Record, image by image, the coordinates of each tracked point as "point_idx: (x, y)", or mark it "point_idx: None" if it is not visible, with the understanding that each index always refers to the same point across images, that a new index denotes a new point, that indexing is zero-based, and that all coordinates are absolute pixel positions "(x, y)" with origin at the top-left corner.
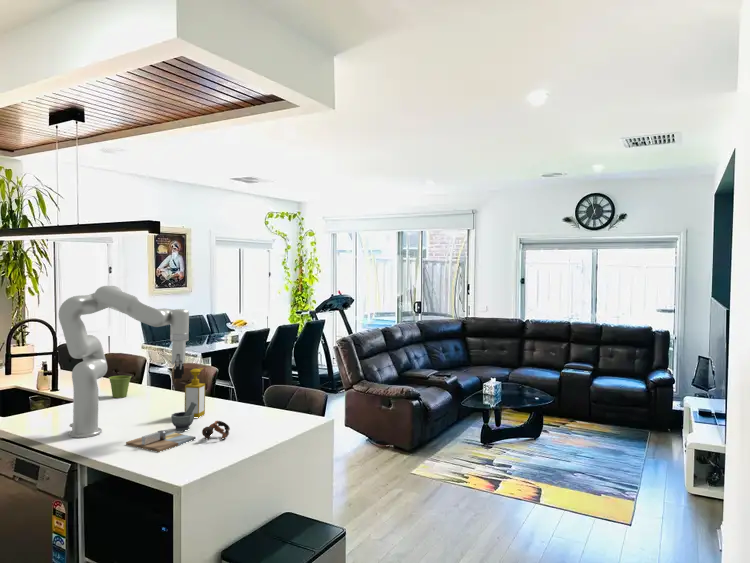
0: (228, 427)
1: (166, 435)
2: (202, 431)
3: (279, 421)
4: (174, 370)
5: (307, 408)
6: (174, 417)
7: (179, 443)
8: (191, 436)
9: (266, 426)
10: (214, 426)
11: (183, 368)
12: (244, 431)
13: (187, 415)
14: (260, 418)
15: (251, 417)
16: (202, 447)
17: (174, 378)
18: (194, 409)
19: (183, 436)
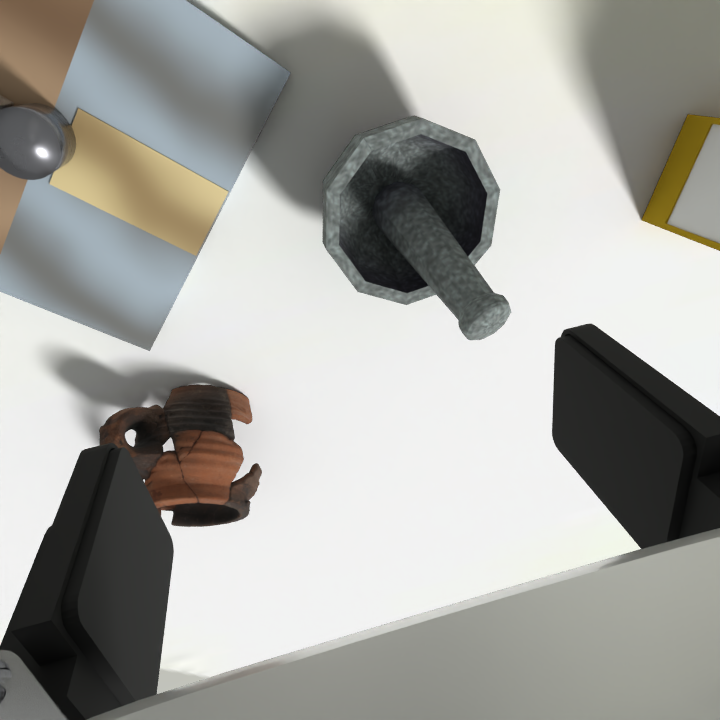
0: (217, 523)
1: (156, 143)
2: (102, 426)
3: (486, 592)
4: (28, 609)
5: None
6: (339, 169)
7: (3, 289)
8: (155, 324)
9: (411, 572)
10: (152, 489)
11: (624, 523)
12: (330, 518)
13: (408, 254)
14: (553, 518)
15: (581, 480)
16: (4, 422)
17: (87, 454)
18: (700, 203)
19: (147, 275)
